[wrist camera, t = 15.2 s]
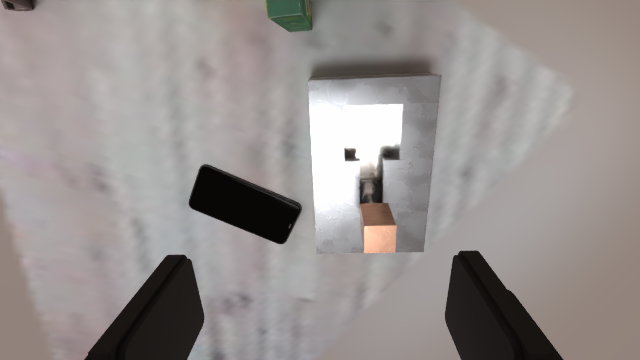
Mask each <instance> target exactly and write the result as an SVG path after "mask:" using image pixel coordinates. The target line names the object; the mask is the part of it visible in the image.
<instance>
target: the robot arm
mask: <svg viewBox="0 0 640 360" xmlns="http://www.w3.org/2000/svg"><path fill="white" fill-rule="evenodd" d="M445 320H446V324H447V327H448V329H449V332H450V334H451V336H452V339H453V341H454V343H455V346H456V348H457V351H458V353H459V355H460V358H461V360H563V359H562V357H561V356H560V355H559V353H558V352H557V351H556V349H555V348H554V347H553V345H552V344H551V343H550V341H549V340H548V339H547V337H546V336H545V335H544V333H543V332H542V331H541V329H540V328H539V327H538V326H537V324H536V323H535V321H534V320H533V319H532V318H531V316H530V315H529V313H528V312H527V311H526V309H525V308H524V307H523V306H522V304H521V303H520V302H519V300H518V299H517V298H516V296H515V295H514V294H513V293H512V292H511V291H509V290H507V289H506V287H505V286H504V285H503V283H502V282H501V281H500V279H499V278H498V277H497V275H496V274H495V273H494V271H493V270H492V269H491V267H490V266H489V265H488V263H487V262H486V261H485V259H484V258H483V256H482V255H481V254H480V253H479V252H478V251H460V252H459V253H458V255H455V256H454V257H453V262H452V269H451V276H450V284H449V290H448V297H447V304H446V311H445ZM203 323H204V312H203V308H202V304H201V299H200V295H199V291H198V287H197V282H196V278H195V274H194V270H193V265H192V262H191V260H190V259H187V257H186V256H185V255H167V256H166V257H165V258H164V260H163V261H162V262H161V263H160V264H159V266H158V267H157V268H156V269H155V271H154V272H153V273H152V274H151V276H150V277H149V278H148V279H147V281H146V282H145V283H144V284H143V286H142V287H141V288H140V289H139V290H138V292H137V293H136V294H135V295H134V297H133V298H132V299H131V300H130V302H129V303H128V304H127V305H126V307H125V308H124V309H123V310H122V312H121V313H120V314H119V315H118V316H117V318H116V319H115V320H114V321H113V323H112V324H111V325H110V326H109V328H108V329H107V330H106V331H105V333H104V334H103V335H102V336H101V338H100V339H99V340H98V341H97V342H96V344H95V345H94V346H93V347H92V349H91V350H90V351H89V352H88V356H87V357H86V358H85V359H84V360H187V358H188V356H189V354H190V352H191V350H192V348H193V345H194V343H195V341H196V339H197V337H198V335H199V333H200V331H201V328H202V326H203Z"/></svg>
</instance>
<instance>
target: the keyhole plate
mask: <svg viewBox="0 0 640 360" xmlns="http://www.w3.org/2000/svg"><path fill="white" fill-rule="evenodd" d="M440 85H441V75H437V74H432V73H412V74H386V75H361V76H336V77H311V78H310V79H309V80H308V92H309V111H310V131H311V150H312V169H313V188H314V207H315V226H316V246H317V253H364V249H363V244H362V238H361V232H360V181H361V180H364V179H373V180H376V181H378V182H379V183H380V184H381V185H382V193H381V203H388V204H389V207H390V209H391V212H392V215H393V217H394V220H395V222H396V225H397V228H396V248H395V252H424V243H425V233H426V223H427V213H428V203H429V193H430V184H431V174H432V164H433V154H434V144H435V134H436V124H437V114H438V104H439V95H440Z"/></svg>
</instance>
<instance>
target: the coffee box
mask: <svg viewBox="0 0 640 360" xmlns="http://www.w3.org/2000/svg"><path fill="white" fill-rule="evenodd" d="M265 3H266V9H267V16H268V18H269V19H271V20H272V21H274V22H275V23H277V24H278V25H280V26H281V27H283V28H284V29H286V30H287V31H289V32H298V31H308V30H312V20H311V8H310V0H265Z"/></svg>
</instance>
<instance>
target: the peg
mask: <svg viewBox="0 0 640 360" xmlns="http://www.w3.org/2000/svg"><path fill="white" fill-rule="evenodd" d="M381 193H382V185H381V184H380V183H379V182H378V181H376V180H373V179H364V180H361V181H360V232H361V238H362V244H363V249H364V253H385V252H395V248H396V228H397V225H396V222H395V220H394V217H393V215H392V212H391V209H390V207H389V204H388V203H381Z"/></svg>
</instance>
